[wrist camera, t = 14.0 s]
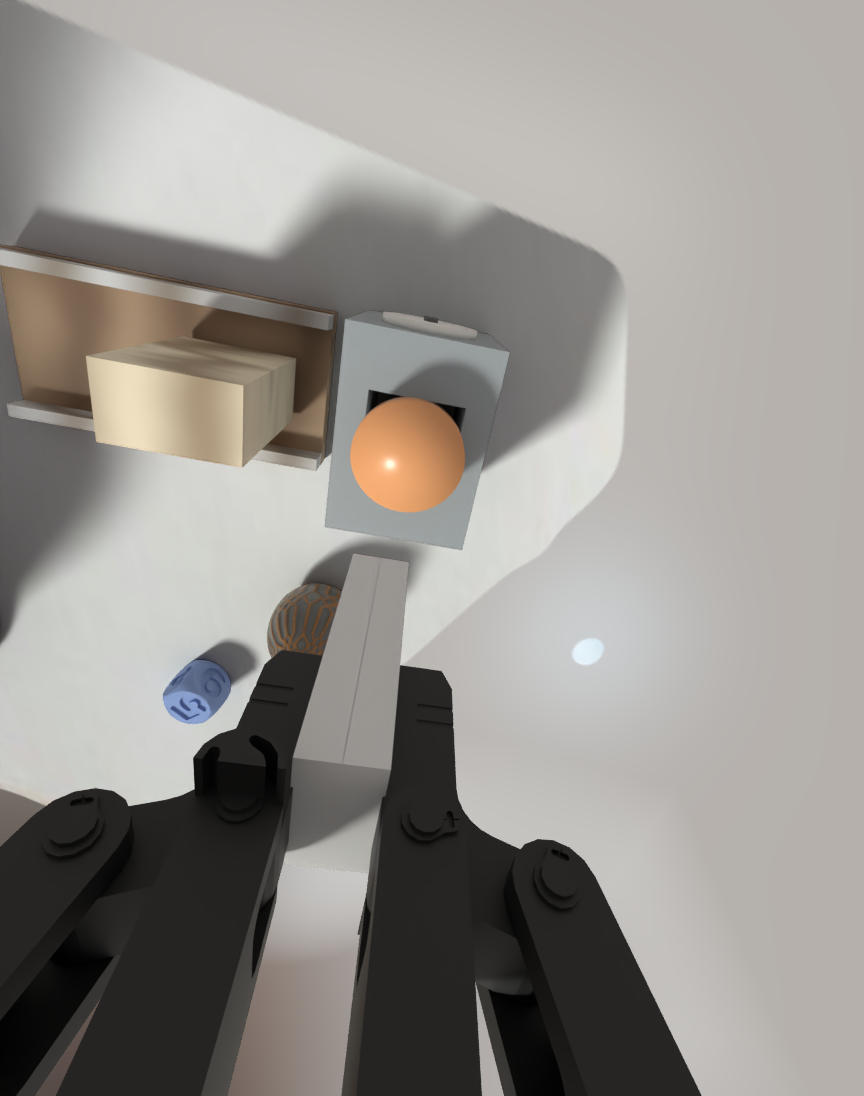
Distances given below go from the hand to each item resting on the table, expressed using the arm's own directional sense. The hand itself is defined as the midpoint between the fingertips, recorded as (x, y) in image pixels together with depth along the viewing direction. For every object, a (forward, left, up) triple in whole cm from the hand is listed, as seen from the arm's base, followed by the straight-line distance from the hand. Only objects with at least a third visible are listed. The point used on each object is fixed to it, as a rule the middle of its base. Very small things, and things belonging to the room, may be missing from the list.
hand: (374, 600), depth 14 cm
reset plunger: (0, 0, -20) cm, 20 cm away
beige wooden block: (-11, 0, -22) cm, 25 cm away
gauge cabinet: (0, 0, -24) cm, 24 cm away
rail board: (-16, 0, -24) cm, 29 cm away
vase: (-5, -18, -25) cm, 31 cm away
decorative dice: (-15, -28, -25) cm, 40 cm away
